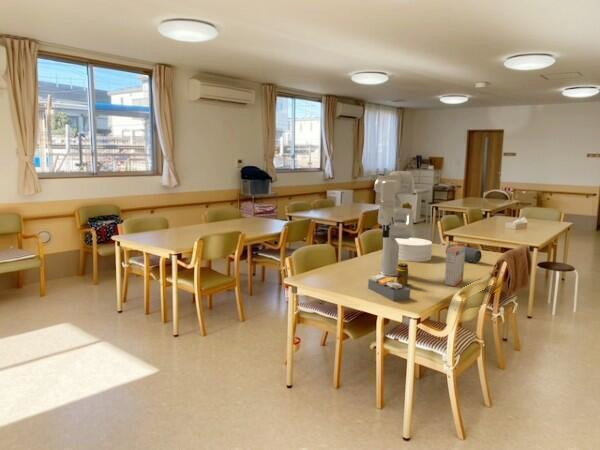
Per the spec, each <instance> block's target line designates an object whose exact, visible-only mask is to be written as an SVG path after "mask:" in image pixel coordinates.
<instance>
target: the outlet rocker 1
mask: <svg viewBox="0 0 600 450" xmlns="http://www.w3.org/2000/svg"><path fill="white" fill-rule="evenodd" d="M385 278H387V275H382V274H380V273H379V274H377V275H373V276H370V279H371V280H373V281H375V282H377V281H379V280H382V279H385Z"/></svg>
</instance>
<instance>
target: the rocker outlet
mask: <svg viewBox="0 0 600 450" xmlns="http://www.w3.org/2000/svg"><path fill="white" fill-rule="evenodd" d="M386 285H388V286H390V287H392V288H395V289H398V288H402V285H401V284H398V283H397V282H395V283H392V282H387V284H386Z"/></svg>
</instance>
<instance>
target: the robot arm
mask: <svg viewBox="0 0 600 450" xmlns="http://www.w3.org/2000/svg"><path fill="white" fill-rule="evenodd" d="M415 189H416V188H415V178H414V174H413V172H411V171H408V170H407V171H406V170H395V171H392V172H390V174H388V175H384V176H379V177H377V178H376V180H375V182H374V191H375V192H376V193H378V194H380V200H379V201H380V202H379V208H378V211H377V212H378V213H377V214H378V215H377V224H379V226H380V227H381V229H382V230H381V232H382V235H381V236H382V237H381V238H382V256H381V257H382V258H381V259H382V260H381V269H379V271H378V273H379V275H380V274H382V275H384V276H386V277H387V276H389V277H395V276H396V277H397V269H398V264H399V259H398V255H399V244H398V242H397V241H396V240H395V238H399V239H409V238H412V234H413V227H414V217H415V213H414V211H413V210H412V209H411V208H408V207H407V208H404V207H403V205H404V204H403V203H404V202H403V201H402V199H401V198H400V197H399V196H398V195H401V196H412V195H413V194H414V192H415Z"/></svg>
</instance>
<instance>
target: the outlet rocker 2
mask: <svg viewBox="0 0 600 450" xmlns="http://www.w3.org/2000/svg"><path fill="white" fill-rule="evenodd" d="M378 282H379V284H381V285H386V284H387V282H392V283H393V282H395V281H394V279H393V278H390V276H389V277H386V278H385V279H382V280H379V281H378Z"/></svg>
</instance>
